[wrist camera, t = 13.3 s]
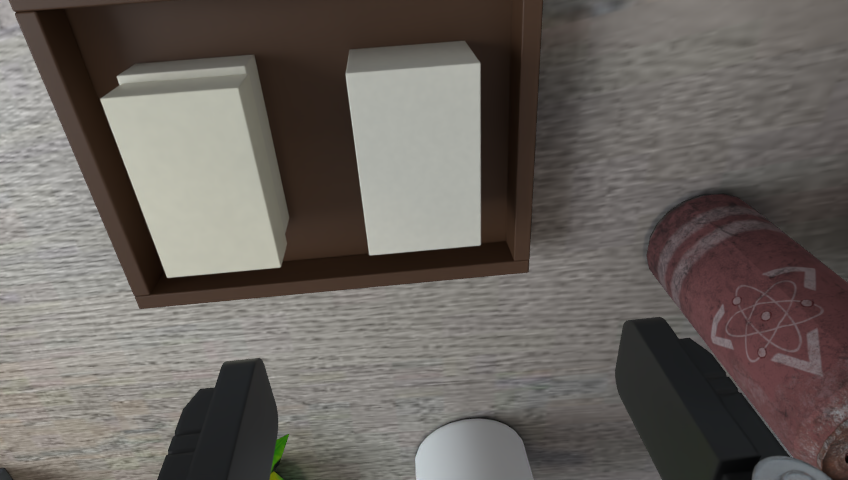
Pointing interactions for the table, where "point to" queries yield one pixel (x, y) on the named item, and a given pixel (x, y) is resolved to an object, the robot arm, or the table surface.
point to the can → (763, 319)
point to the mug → (473, 453)
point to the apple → (278, 457)
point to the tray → (296, 126)
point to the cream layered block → (202, 163)
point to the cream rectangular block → (417, 144)
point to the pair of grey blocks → (4, 475)
